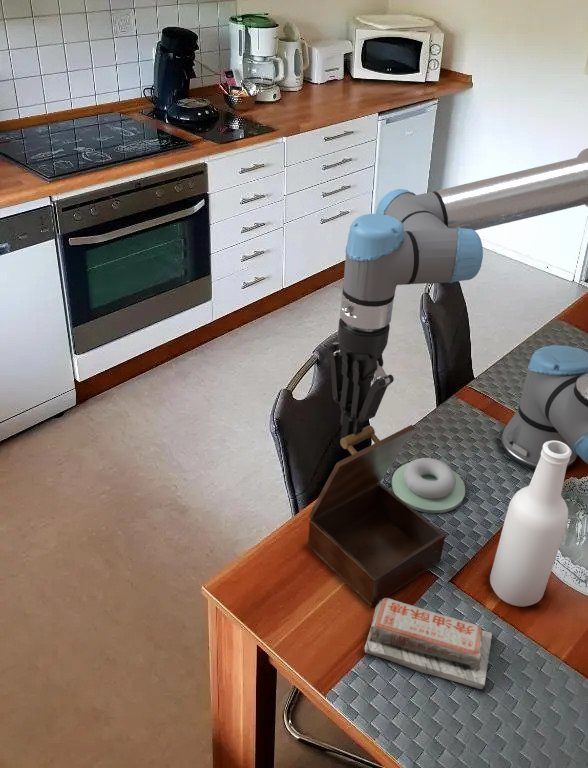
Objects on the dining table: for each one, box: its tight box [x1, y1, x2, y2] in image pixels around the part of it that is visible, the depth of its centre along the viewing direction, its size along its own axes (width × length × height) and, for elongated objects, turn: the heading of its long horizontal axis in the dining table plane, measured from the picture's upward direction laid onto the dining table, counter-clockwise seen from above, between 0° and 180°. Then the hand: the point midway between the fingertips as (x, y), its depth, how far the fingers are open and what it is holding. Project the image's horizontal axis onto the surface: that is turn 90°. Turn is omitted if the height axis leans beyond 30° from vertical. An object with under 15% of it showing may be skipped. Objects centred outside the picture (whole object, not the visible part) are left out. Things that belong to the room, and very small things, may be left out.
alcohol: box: [489, 441, 572, 608], centre depth 114 cm, size 9×9×30 cm
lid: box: [308, 424, 415, 520], centre depth 123 cm, size 17×16×5 cm
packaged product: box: [363, 597, 493, 690], centre depth 111 cm, size 18×5×10 cm
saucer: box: [391, 462, 466, 514], centre depth 142 cm, size 14×14×1 cm
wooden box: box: [307, 482, 447, 609], centre depth 126 cm, size 16×16×7 cm
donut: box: [403, 457, 456, 499], centre depth 141 cm, size 10×3×10 cm
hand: (348, 444), depth 122 cm, fingers closed
